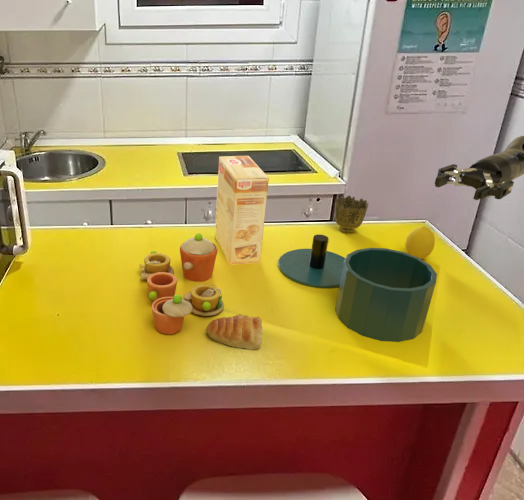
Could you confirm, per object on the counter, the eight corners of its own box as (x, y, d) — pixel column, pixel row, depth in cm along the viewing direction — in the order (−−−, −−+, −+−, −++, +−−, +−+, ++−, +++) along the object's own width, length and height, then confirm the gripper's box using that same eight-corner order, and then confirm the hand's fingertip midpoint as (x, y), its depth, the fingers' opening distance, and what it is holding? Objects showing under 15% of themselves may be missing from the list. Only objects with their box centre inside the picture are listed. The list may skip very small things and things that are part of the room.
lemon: (419, 253, 115) (428, 220, 111) (435, 265, 110) (444, 231, 107) (396, 254, 114) (404, 221, 111) (411, 267, 109) (419, 232, 106)
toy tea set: (137, 265, 109) (136, 223, 105) (210, 261, 111) (212, 220, 106) (146, 342, 86) (145, 292, 82) (237, 336, 88) (241, 287, 83)
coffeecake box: (261, 265, 110) (270, 177, 101) (228, 267, 109) (234, 178, 100) (243, 234, 123) (249, 154, 114) (213, 236, 122) (217, 155, 113)
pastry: (204, 347, 85) (205, 327, 83) (207, 323, 91) (208, 305, 89) (262, 352, 84) (264, 332, 82) (261, 327, 90) (263, 309, 88)
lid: (361, 263, 111) (367, 230, 107) (346, 298, 98) (353, 263, 95) (289, 247, 117) (293, 216, 113) (267, 278, 105) (271, 244, 101)
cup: (368, 232, 124) (374, 201, 121) (353, 242, 120) (359, 210, 116) (339, 223, 129) (344, 193, 125) (324, 232, 124) (329, 201, 120)
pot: (425, 309, 95) (439, 259, 91) (418, 354, 84) (433, 299, 79) (344, 289, 101) (353, 241, 96) (327, 329, 90) (336, 276, 85)
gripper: (468, 147, 122) (429, 163, 114) (533, 164, 112) (495, 182, 104) (459, 177, 126) (421, 194, 118) (522, 196, 116) (484, 216, 107)
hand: (456, 189), depth 111 cm, fingers open, 8 cm apart
